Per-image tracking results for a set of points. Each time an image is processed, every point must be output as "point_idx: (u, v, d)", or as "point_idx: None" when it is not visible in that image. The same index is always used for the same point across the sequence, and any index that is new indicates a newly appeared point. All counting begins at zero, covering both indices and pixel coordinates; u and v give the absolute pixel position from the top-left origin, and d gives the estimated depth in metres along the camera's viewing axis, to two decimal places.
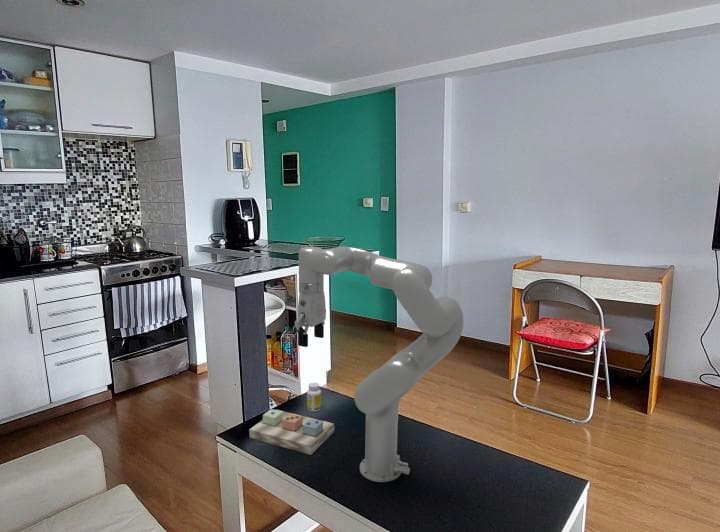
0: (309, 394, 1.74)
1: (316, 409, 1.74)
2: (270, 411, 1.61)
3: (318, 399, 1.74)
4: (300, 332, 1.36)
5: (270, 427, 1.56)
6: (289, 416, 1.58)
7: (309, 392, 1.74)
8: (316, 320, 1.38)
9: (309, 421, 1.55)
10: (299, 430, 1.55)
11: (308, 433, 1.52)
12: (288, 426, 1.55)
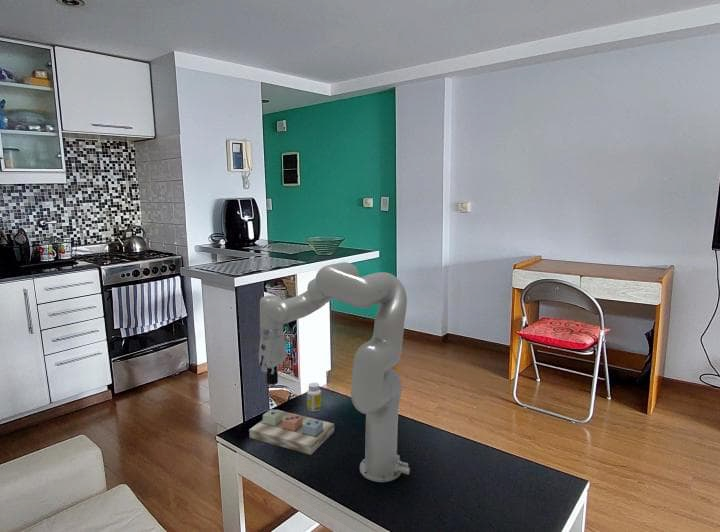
0: (309, 394, 1.74)
1: (316, 409, 1.74)
2: (270, 411, 1.61)
3: (318, 399, 1.74)
4: (268, 372, 1.55)
5: (270, 427, 1.56)
6: (289, 416, 1.58)
7: (309, 392, 1.74)
8: (276, 362, 1.54)
9: (309, 421, 1.55)
10: (299, 430, 1.55)
11: (308, 433, 1.52)
12: (288, 426, 1.55)
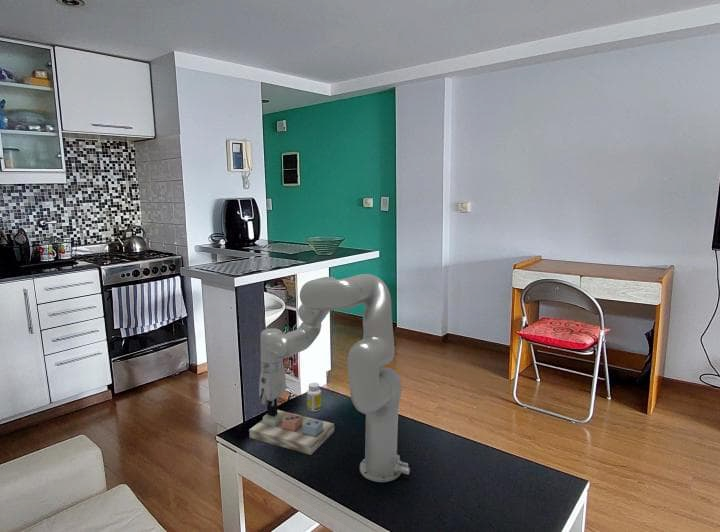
0: (309, 394, 1.74)
1: (316, 409, 1.74)
2: None
3: (318, 399, 1.74)
4: (268, 404, 1.57)
5: (270, 427, 1.56)
6: (289, 416, 1.58)
7: (309, 392, 1.74)
8: (276, 394, 1.56)
9: (309, 421, 1.55)
10: (299, 430, 1.55)
11: (308, 433, 1.52)
12: (288, 426, 1.55)
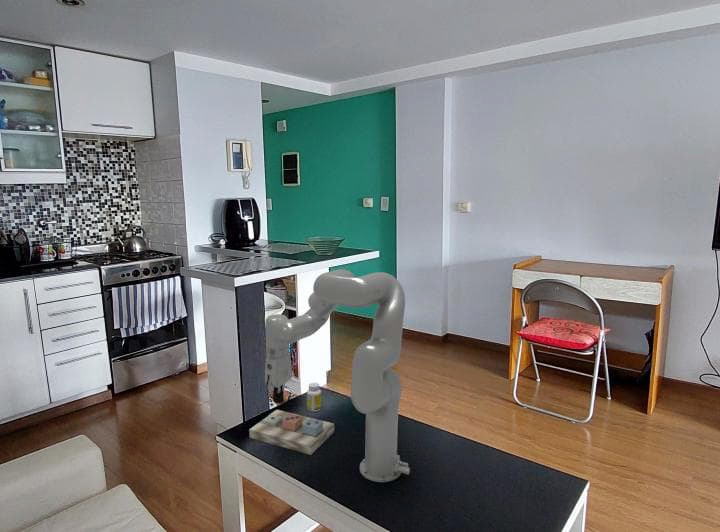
0: (309, 394, 1.74)
1: (316, 409, 1.74)
2: (270, 416, 1.62)
3: (318, 399, 1.74)
4: (274, 391, 1.56)
5: (270, 427, 1.56)
6: (289, 416, 1.58)
7: (309, 392, 1.74)
8: (282, 381, 1.54)
9: (309, 421, 1.55)
10: (299, 430, 1.55)
11: (308, 433, 1.52)
12: (288, 426, 1.55)
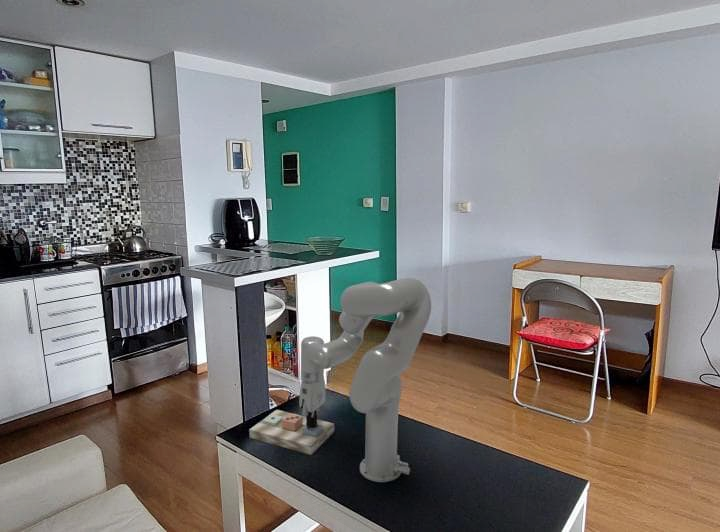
0: None
1: None
2: (270, 416, 1.62)
3: None
4: (308, 415, 1.51)
5: (270, 427, 1.56)
6: (289, 416, 1.58)
7: None
8: (316, 405, 1.50)
9: None
10: (299, 430, 1.55)
11: None
12: (288, 426, 1.55)
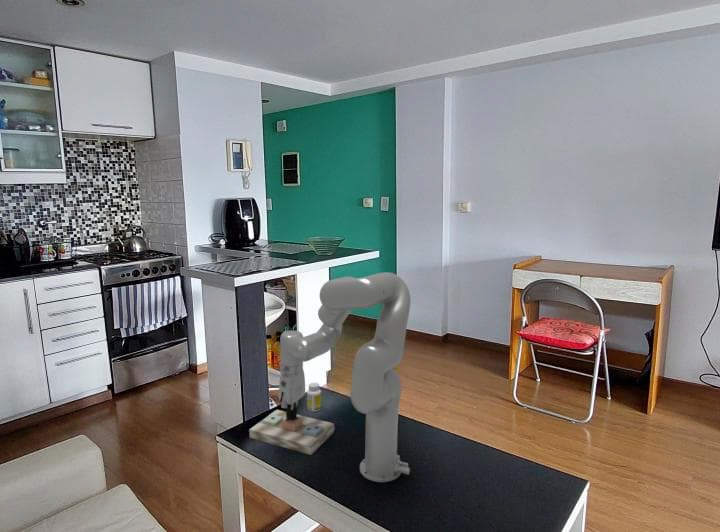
0: (309, 394, 1.74)
1: (316, 409, 1.74)
2: (270, 416, 1.62)
3: (318, 399, 1.74)
4: (288, 408, 1.54)
5: (270, 427, 1.56)
6: None
7: (309, 392, 1.74)
8: (295, 398, 1.53)
9: (309, 426, 1.55)
10: (299, 430, 1.55)
11: None
12: (288, 427, 1.55)
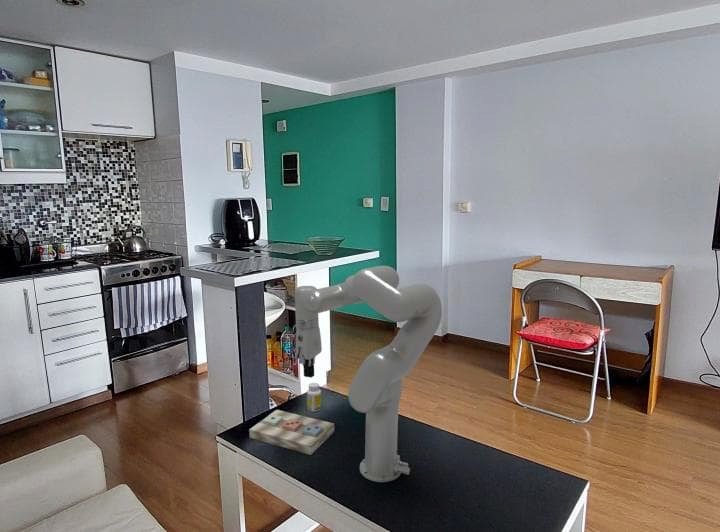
0: (309, 394, 1.74)
1: (316, 409, 1.74)
2: (270, 416, 1.62)
3: (318, 399, 1.74)
4: (305, 364, 1.52)
5: (270, 427, 1.56)
6: (289, 421, 1.58)
7: (309, 392, 1.74)
8: (313, 353, 1.51)
9: (309, 426, 1.55)
10: (299, 430, 1.55)
11: None
12: None
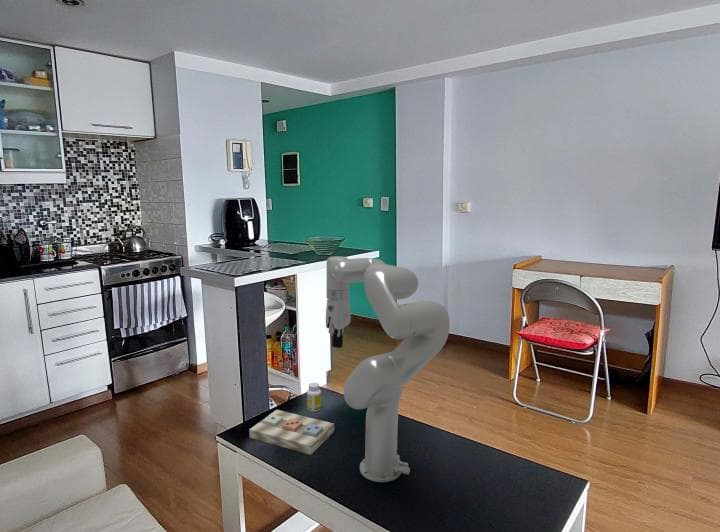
0: (309, 394, 1.74)
1: (316, 409, 1.74)
2: (270, 416, 1.62)
3: (318, 399, 1.74)
4: (334, 334, 1.52)
5: (270, 427, 1.56)
6: (289, 421, 1.58)
7: (309, 392, 1.74)
8: (342, 323, 1.51)
9: (309, 426, 1.55)
10: (299, 430, 1.55)
11: None
12: None
